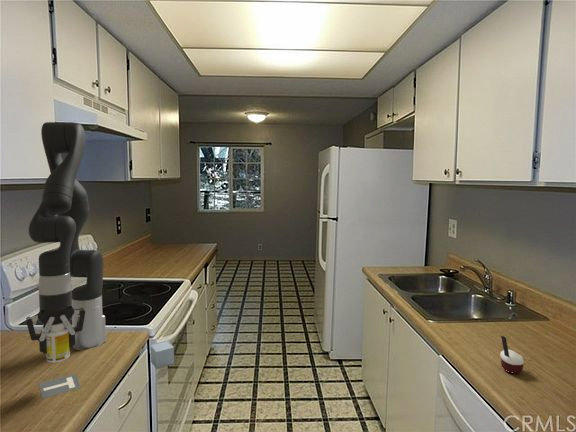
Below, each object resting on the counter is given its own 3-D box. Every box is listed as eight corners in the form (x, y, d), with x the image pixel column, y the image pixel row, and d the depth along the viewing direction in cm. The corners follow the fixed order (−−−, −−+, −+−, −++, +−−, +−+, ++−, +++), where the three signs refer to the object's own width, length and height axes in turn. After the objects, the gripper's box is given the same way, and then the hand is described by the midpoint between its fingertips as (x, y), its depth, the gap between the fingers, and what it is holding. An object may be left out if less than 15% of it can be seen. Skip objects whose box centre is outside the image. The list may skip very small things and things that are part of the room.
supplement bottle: (73, 353, 106) (72, 318, 105) (63, 363, 101) (62, 326, 100) (52, 354, 106) (51, 318, 105) (41, 363, 100) (40, 326, 99)
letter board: (39, 385, 105) (39, 383, 105) (75, 376, 111) (75, 373, 111) (42, 401, 98) (41, 398, 98) (81, 390, 103) (80, 387, 103)
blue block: (150, 361, 120) (150, 345, 120) (167, 357, 124) (167, 341, 123) (156, 369, 116) (156, 352, 115) (174, 364, 119) (173, 347, 119)
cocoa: (518, 367, 123) (522, 332, 122) (530, 377, 117) (535, 339, 116) (489, 365, 123) (493, 330, 122) (499, 375, 117) (504, 337, 116)
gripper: (83, 282, 109) (84, 338, 110) (22, 290, 100) (25, 351, 102) (87, 289, 103) (89, 348, 104) (23, 298, 94) (26, 362, 96)
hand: (57, 349), depth 103 cm, fingers closed on supplement bottle, 5 cm apart
